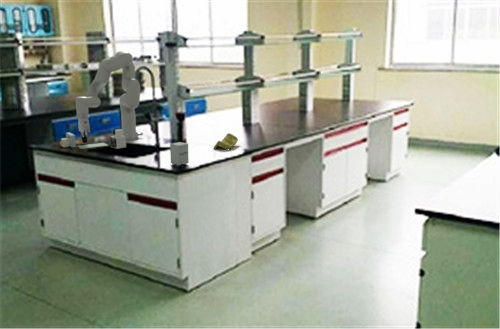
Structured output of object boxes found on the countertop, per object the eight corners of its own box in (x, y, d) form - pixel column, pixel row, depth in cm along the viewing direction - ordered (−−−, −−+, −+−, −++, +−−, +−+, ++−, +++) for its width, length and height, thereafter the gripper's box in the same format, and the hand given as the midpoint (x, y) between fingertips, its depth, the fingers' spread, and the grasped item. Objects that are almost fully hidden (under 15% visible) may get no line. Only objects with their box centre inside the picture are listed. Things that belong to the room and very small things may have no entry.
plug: (81, 143, 362) (81, 136, 361) (83, 144, 358) (83, 137, 357) (60, 146, 354) (59, 138, 353) (62, 147, 351) (61, 139, 350)
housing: (70, 143, 362) (69, 132, 360) (75, 147, 352) (74, 135, 350) (66, 144, 360) (65, 132, 358) (72, 147, 351) (71, 135, 349)
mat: (103, 143, 363) (103, 142, 363) (108, 145, 356) (108, 145, 356) (76, 146, 354) (76, 145, 354) (80, 148, 346) (80, 148, 346)
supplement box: (179, 167, 300) (178, 145, 297) (170, 165, 305) (169, 143, 302) (189, 165, 305) (188, 143, 302) (180, 163, 310) (179, 141, 307)
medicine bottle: (110, 147, 351) (109, 129, 348) (120, 145, 356) (119, 127, 353) (116, 149, 346) (115, 130, 343) (126, 147, 351) (125, 129, 348)
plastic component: (230, 147, 342) (216, 139, 343) (226, 156, 345) (212, 149, 346) (240, 138, 360) (227, 131, 361) (235, 148, 363) (222, 141, 364)
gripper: (91, 116, 352) (93, 144, 357) (84, 113, 364) (86, 140, 369) (80, 117, 348) (82, 145, 353) (73, 114, 360) (75, 141, 365)
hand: (84, 142), depth 361 cm, fingers closed
